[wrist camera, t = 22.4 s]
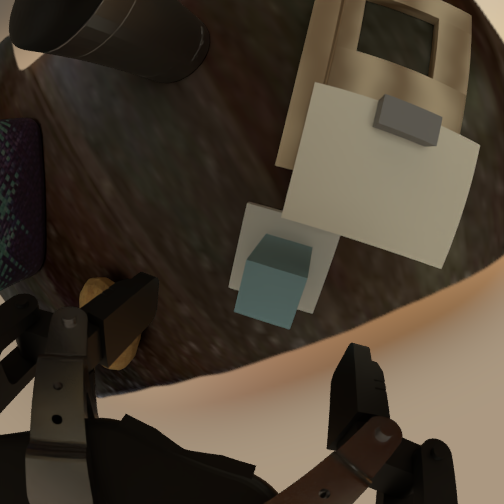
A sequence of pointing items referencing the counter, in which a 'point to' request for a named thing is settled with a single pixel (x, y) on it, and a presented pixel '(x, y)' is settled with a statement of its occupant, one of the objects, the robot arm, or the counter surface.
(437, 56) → the puzzle board
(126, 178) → the counter surface
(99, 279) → the potato
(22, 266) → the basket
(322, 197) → the cover
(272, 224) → the mat
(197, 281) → the counter surface
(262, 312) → the block
